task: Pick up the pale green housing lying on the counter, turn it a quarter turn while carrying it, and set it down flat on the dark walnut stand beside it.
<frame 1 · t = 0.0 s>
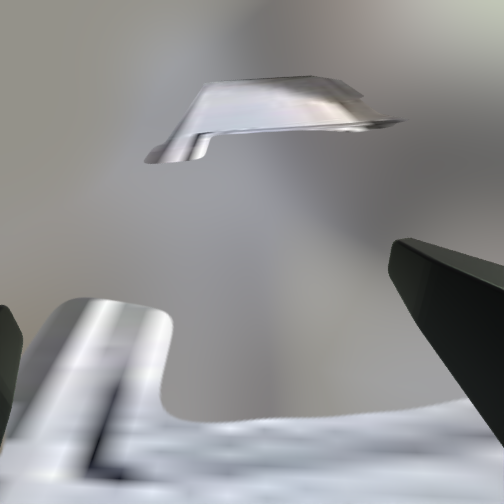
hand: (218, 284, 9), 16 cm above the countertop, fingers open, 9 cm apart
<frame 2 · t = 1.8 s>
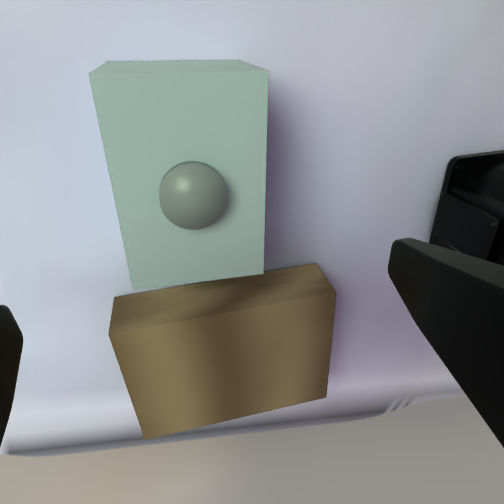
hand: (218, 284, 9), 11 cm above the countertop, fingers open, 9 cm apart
pale green housing: (184, 154, 18), on the countertop
walnut stand: (226, 335, 24), on the countertop
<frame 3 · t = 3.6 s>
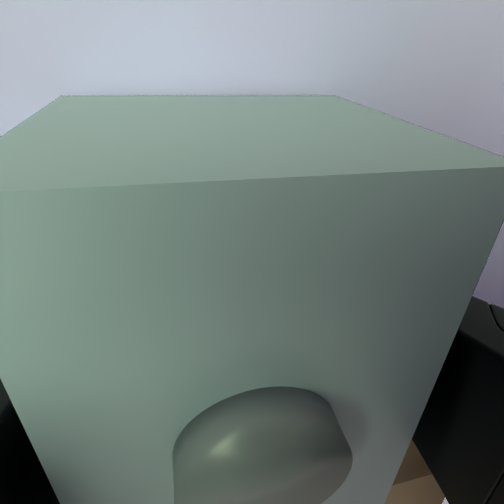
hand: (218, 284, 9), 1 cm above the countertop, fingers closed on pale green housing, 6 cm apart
pale green housing: (212, 261, 9), on the countertop, touching gripper
walnut stand: (264, 488, 16), on the countertop
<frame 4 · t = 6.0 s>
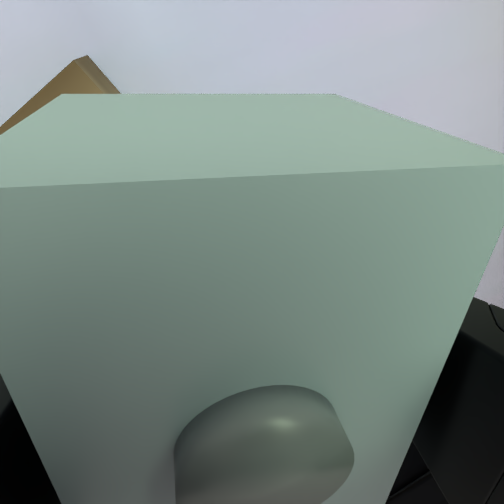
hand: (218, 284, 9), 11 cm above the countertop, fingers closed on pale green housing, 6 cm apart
pale green housing: (213, 260, 9), point 10 cm above the countertop, touching gripper
walnut stand: (116, 221, 19), on the countertop
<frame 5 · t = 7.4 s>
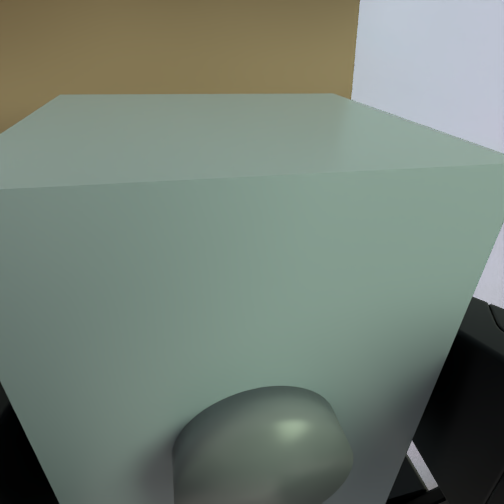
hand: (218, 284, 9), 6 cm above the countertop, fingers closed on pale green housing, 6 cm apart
pale green housing: (212, 260, 9), point 5 cm above the countertop, touching gripper
walnut stand: (193, 189, 14), on the countertop
when the fingers open (5 cm above the countertop, at t = 8.3 s): pale green housing drops 1 cm, resting on walnut stand.
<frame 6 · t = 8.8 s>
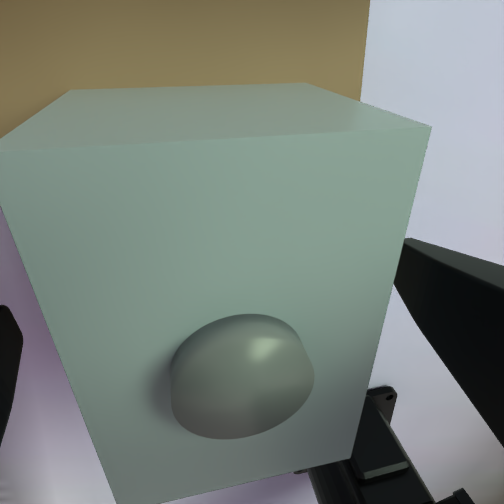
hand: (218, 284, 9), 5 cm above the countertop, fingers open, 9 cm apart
pale green housing: (206, 235, 11), point 3 cm above the countertop, touching walnut stand
walnut stand: (195, 195, 13), on the countertop
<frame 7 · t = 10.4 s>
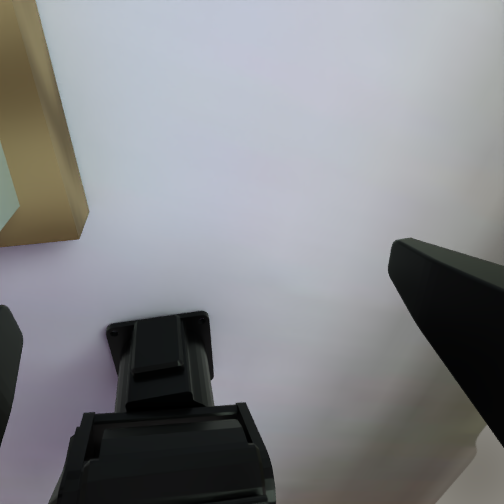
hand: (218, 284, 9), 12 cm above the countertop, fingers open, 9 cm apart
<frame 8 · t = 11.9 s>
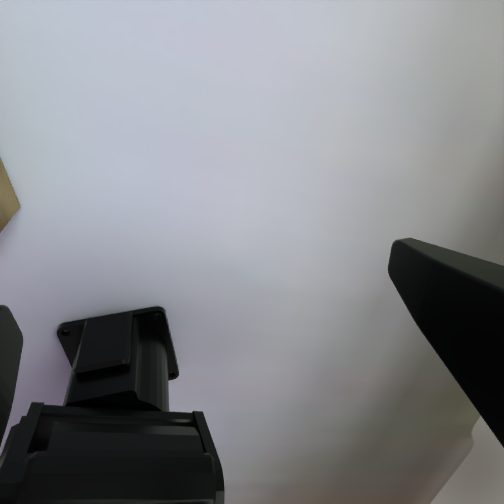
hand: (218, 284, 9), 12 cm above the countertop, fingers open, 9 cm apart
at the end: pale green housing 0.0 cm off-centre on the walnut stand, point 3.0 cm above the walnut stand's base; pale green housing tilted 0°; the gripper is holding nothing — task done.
